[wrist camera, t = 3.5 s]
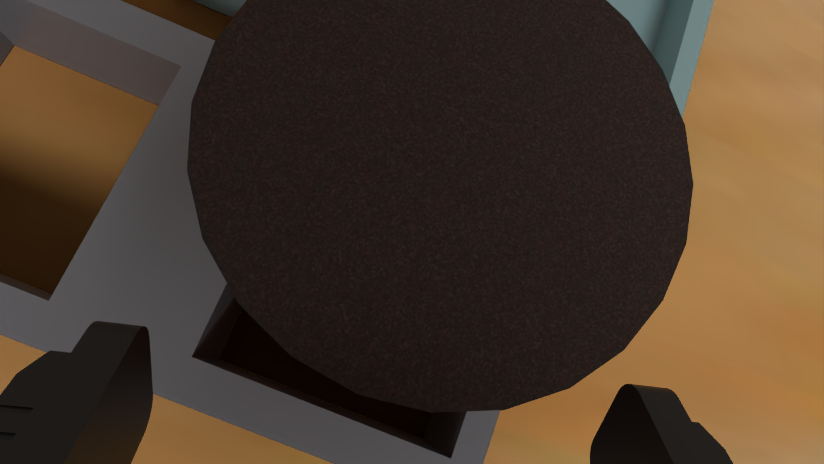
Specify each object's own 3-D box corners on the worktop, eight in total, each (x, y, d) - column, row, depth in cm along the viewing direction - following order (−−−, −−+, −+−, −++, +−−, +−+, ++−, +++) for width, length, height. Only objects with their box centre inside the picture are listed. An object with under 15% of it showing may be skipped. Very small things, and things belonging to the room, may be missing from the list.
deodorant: (270, 229, 21) (168, -70, 7) (428, 211, 22) (630, -78, 8) (288, 394, 20) (209, 463, 6) (453, 367, 21) (748, 365, 7)
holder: (522, 225, 23) (570, 192, 18) (434, 483, 20) (466, 514, 16) (8, 9, 21) (-71, -82, 17) (-160, 252, 19) (-302, 217, 14)
